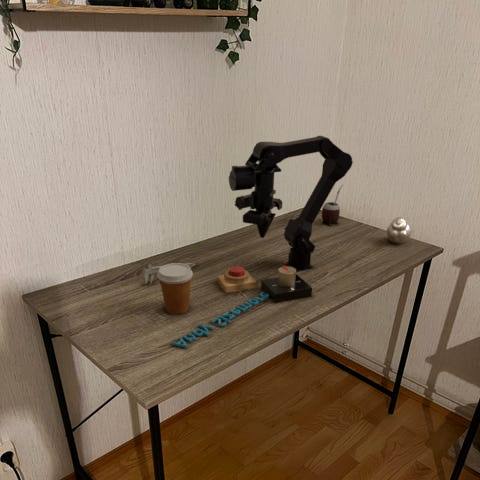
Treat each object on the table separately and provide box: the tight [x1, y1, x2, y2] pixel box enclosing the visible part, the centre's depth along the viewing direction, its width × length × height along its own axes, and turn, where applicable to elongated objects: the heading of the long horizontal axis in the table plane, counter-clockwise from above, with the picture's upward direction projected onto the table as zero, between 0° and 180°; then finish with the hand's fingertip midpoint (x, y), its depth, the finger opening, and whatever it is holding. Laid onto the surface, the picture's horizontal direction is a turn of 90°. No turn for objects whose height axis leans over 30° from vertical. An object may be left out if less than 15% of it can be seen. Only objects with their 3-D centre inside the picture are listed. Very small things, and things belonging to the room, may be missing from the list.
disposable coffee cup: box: [156, 262, 194, 315], centre depth 135 cm, size 10×10×12 cm
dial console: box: [260, 273, 313, 304], centre depth 147 cm, size 12×10×3 cm
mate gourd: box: [321, 183, 344, 227], centre depth 198 cm, size 8×8×15 cm
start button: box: [228, 265, 245, 277], centre depth 149 cm, size 4×4×2 cm
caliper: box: [142, 262, 197, 285], centre depth 156 cm, size 20×1×6 cm, turn 136°
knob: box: [277, 265, 297, 288], centre depth 145 cm, size 5×5×5 cm
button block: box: [216, 269, 257, 294], centre depth 151 cm, size 10×8×4 cm
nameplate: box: [170, 291, 269, 349], centre depth 133 cm, size 37×1×5 cm
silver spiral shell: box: [386, 216, 413, 244], centre depth 181 cm, size 9×10×10 cm
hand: (262, 237), depth 154 cm, fingers closed
